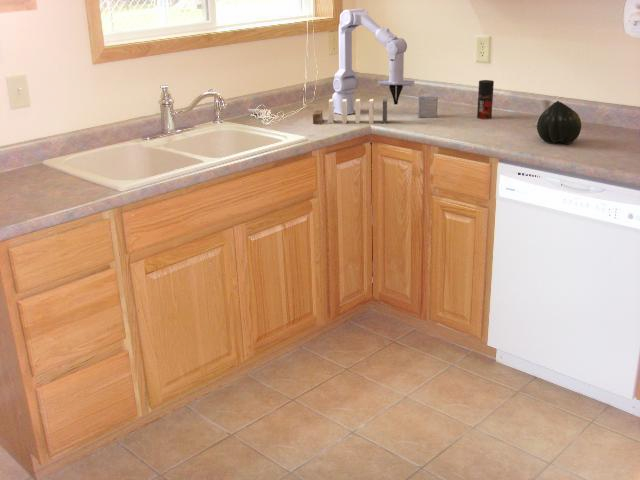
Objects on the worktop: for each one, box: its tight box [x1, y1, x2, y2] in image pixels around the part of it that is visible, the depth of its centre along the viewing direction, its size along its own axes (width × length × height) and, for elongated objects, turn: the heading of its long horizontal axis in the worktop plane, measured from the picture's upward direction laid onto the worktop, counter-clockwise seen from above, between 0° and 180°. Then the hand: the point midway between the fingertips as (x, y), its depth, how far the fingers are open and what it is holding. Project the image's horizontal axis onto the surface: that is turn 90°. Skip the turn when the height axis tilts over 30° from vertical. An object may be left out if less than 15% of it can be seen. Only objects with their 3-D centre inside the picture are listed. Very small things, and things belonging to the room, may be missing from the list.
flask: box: [534, 99, 552, 128], centre depth 290 cm, size 7×7×10 cm
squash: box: [536, 100, 582, 145], centre depth 267 cm, size 14×15×15 cm
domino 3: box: [354, 98, 361, 124], centre depth 305 cm, size 2×5×9 cm, turn 173°
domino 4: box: [368, 98, 375, 124], centre depth 304 cm, size 2×5×9 cm, turn 173°
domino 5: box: [382, 98, 388, 124], centre depth 304 cm, size 2×5×9 cm, turn 173°
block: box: [312, 109, 324, 125], centre depth 308 cm, size 3×8×4 cm, turn 173°
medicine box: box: [417, 94, 439, 118], centre depth 311 cm, size 8×4×9 cm, turn 84°
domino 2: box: [341, 99, 348, 124], centre depth 306 cm, size 2×5×9 cm, turn 173°
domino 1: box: [328, 98, 335, 124], centre depth 306 cm, size 2×5×9 cm, turn 173°
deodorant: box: [476, 79, 495, 120], centre depth 305 cm, size 6×6×15 cm
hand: (395, 103), depth 302 cm, fingers closed
